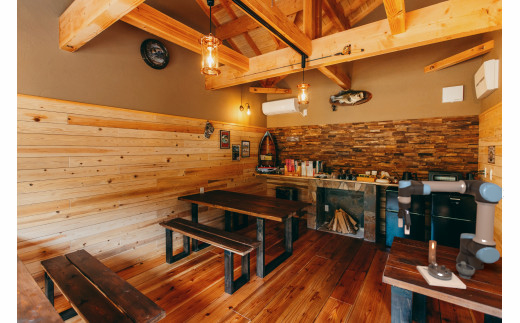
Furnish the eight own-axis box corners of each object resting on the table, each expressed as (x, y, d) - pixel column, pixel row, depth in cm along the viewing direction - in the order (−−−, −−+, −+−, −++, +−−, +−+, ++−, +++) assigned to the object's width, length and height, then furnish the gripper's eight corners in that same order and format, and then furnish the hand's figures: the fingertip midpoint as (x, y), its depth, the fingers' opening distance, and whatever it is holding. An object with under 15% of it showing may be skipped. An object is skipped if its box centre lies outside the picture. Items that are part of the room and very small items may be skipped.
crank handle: (456, 281, 149) (457, 253, 148) (433, 279, 152) (434, 251, 151) (440, 265, 168) (441, 240, 167) (420, 264, 171) (421, 239, 170)
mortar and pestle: (458, 270, 165) (459, 254, 164) (476, 277, 157) (477, 260, 156) (453, 276, 159) (453, 259, 158) (470, 283, 151) (471, 265, 150)
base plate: (448, 271, 165) (448, 268, 164) (465, 288, 145) (466, 285, 145) (416, 268, 169) (416, 265, 169) (429, 284, 150) (429, 281, 150)
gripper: (393, 197, 181) (392, 224, 183) (404, 206, 157) (403, 236, 159) (403, 198, 180) (403, 224, 181) (417, 206, 155) (416, 237, 157)
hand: (403, 230), depth 170 cm, fingers open, 13 cm apart
